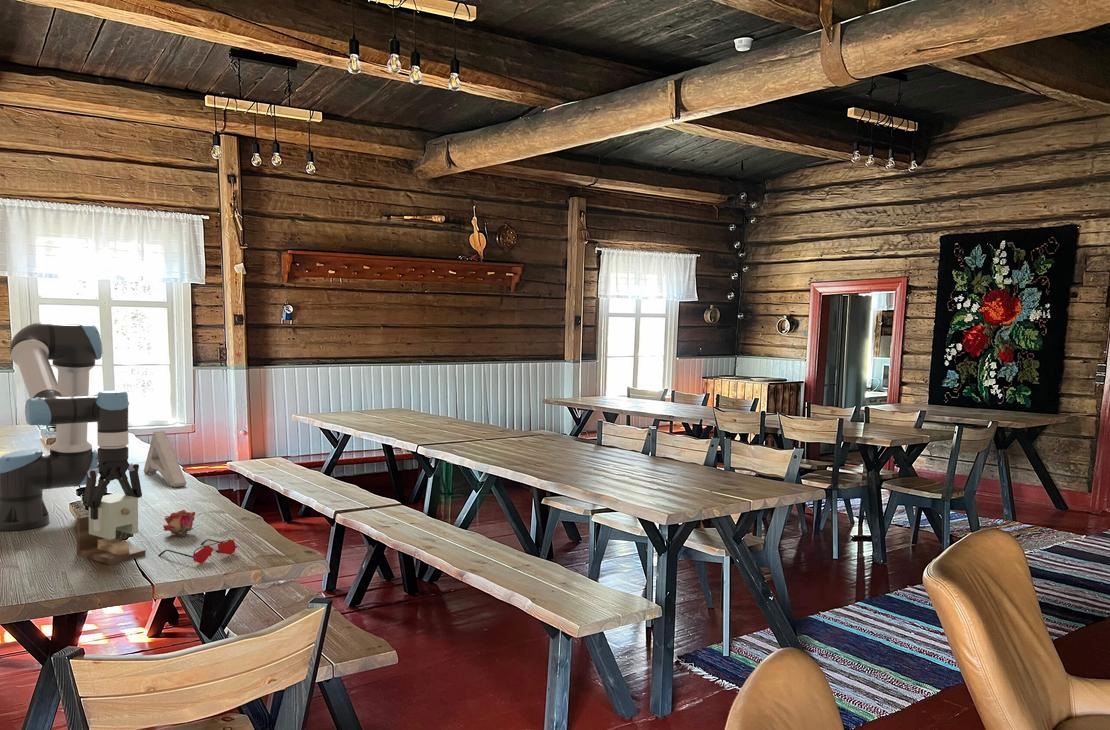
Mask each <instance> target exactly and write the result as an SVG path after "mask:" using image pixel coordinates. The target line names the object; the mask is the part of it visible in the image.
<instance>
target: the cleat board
mask: <svg viewBox="0 0 1110 730" xmlns="http://www.w3.org/2000/svg"><path fill="white" fill-rule="evenodd" d="M76 555H77V556H81V557H84V558H87V559H90V560H95V561H98V562H100V563H104V564H107V565H114V564H119V563H122V562H126V561H130V560H134V559H136V558H141V557H145V556H146V549H142V548H140V547H135V546H132V545H130V543H129V542H128V541H127V542H126V541H122V540H119V539H116V538H114V539H106V538H102V537H99V536H95V535H91V534H89V514H87V515H82V516H77V517H76Z"/></svg>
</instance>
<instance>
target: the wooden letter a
mask: <svg viewBox="0 0 1110 730" xmlns="http://www.w3.org/2000/svg"><path fill="white" fill-rule="evenodd" d="M148 449H149V450H148V452H147V457H146V460H145V463H144V467H143V473H144V475H148V473H151V474H156V473H157V472H159V473H160V475H161V476H162V477H163V478H164V480H165V482H166V485H167V486H168V485H169V487H171V486H173V487H174V488H178V487H186V485H187V483H188V482H187V481H186V480H187V479H186V477H185V475H184V473H183V471H182V468H181V466H180V464H179V462H178V459H177V457H176V454H175V451H174V449H173V447H172V444H171V442H170V440H169V437H168V435H167V432H166V431H165V430H164V431H161V430H160V431H153V432H152V437H151V440H150V445H149V447H148ZM155 472H156V473H155ZM173 487H172V488H173Z"/></svg>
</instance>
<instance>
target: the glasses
mask: <svg viewBox="0 0 1110 730" xmlns="http://www.w3.org/2000/svg"><path fill="white" fill-rule="evenodd" d="M208 541H210V542H214V543H211V544H207V545H204V544H205V543H206V542H208ZM200 545H201V546H200V547H197V548H196V549H195V550H194V552H193V554H192V555H190V554H186V553H182V552H178V551H175V550H171V549H165V550H163V551H161V552H160V553H159V554H158V555H157V556H158V557H161V556H162V555H163V554H165V553H166V552H171V553H173V554H177V555H180V556H185V557H188V558H191V559H193V562H196V563H198V564H203V562H204V563H205V562H206V561H207V559H208V558H209V557H211V556H212V552H213V551H214V550H215V549H214V548H213V547H211V546H212V545H217V550H215V553H217V554H224V555H230V554H232V553H233V554H235V552H236V549H237V548H238V545H237V544H236V542H235V540H234V539H226V540H223V541H218V540H215V539H211V538H207V539H206V540H204V541H202V542H201V543H200ZM203 545H204V546H203ZM199 549H200V550H199ZM197 550H198V551H197ZM233 554H232V555H233Z"/></svg>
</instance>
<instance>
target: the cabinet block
mask: <svg viewBox="0 0 1110 730" xmlns="http://www.w3.org/2000/svg"><path fill="white" fill-rule="evenodd" d="M99 507H101V508H102V531H100V532H99V531H95V530H94V521H93V519H91V509H90V507H88V515H89V534H91V535H95V536H99V537H102V538H106V539H114V538H115V539H116V537H117V534H116V533H117V532H116V531H118V532H123V533H125V534H130V535H135V534H138V533H139V498H136V497H132V496H127V495H125V494H121V493H118V492H117V493H112V494H106V495H103V497H102V500H101V502H100V505H99Z"/></svg>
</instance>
